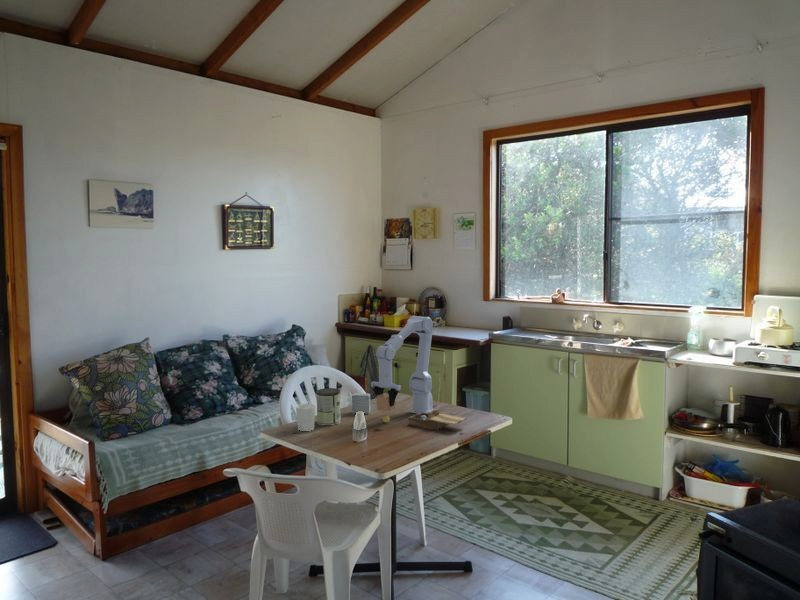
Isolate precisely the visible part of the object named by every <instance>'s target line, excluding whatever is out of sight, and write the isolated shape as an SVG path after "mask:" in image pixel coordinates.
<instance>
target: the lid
mask: <svg viewBox="0 0 800 600" xmlns="http://www.w3.org/2000/svg"><path fill="white" fill-rule="evenodd" d="M425 420H429V421H435V422H440V423H446V424H449V425H452V426H455V425H458V424H460V423H462V422H464V421H466V420H467V417H463V416H458V415H452V414H445V413H440V408H434V410H432V411H430V412H428V418H425Z"/></svg>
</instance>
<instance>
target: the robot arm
mask: <svg viewBox="0 0 800 600" xmlns="http://www.w3.org/2000/svg"><path fill="white" fill-rule="evenodd" d="M433 327H434V321H433V320H432V318H431V317H430V316H418V315H411V316H410V317H409V318H408V319H407V322H406V324H405V326H404V327H403V328H402V329H401V330H400V331H399V332H398V334H392V335H391V336H390V338H389V339H388V340H387V341H385V343H384V344H383V345H380V346H378V347H377V348H376V351H375V356H376V358H377V362H378V381H371V382H370V387H371V388H372V391H373V393H374V395H375V397H376V398H377V396H378V395H381V394H384V390H385V389H387V394H389V403H390V406H394V403H395V404H396V399H397V396H398V393H400V391H401V390H402V386H401V385H400V384H396V383H394V382H393V359H394V358H395V356H396V353H397V351H398V350H399V349H400V348H401V347H402V346H403V344H404V340H405V339H407V337H409V336H410V335H411V334H412V333H415V334H417V335H418V337H419V341H418V349H417V358H416V359H417V360H416V365H415V366H416V367H415V371H414V372H413V373H412V374H411V375H410V379H409V382H408V386H409V389H410V391H411V393H412V410H409V412H408V413H411V414H415V415H416V414H418V413H421V412H423V413H428V412H430V411H432V410H435V408H433V394H432V392H431V391H432V389H433V381H432V380H433V377H432V376H431V375H430V373H429V365H430V364H429V363H430V353H431V347H432V346H431V345H432V337H433Z"/></svg>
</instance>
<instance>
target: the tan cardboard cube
mask: <svg viewBox="0 0 800 600" xmlns="http://www.w3.org/2000/svg"><path fill="white" fill-rule="evenodd" d="M395 409H396V402H395V403H394V406H390V403H389V394H388V392H387V393H385V392H383V394H381V395H378V396H377V397H376V410H378V411H383V412H390V411H393V410H395Z"/></svg>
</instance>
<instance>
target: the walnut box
mask: <svg viewBox="0 0 800 600" xmlns="http://www.w3.org/2000/svg"><path fill="white" fill-rule="evenodd" d="M422 415H425V416H426V417H427V418H428V413H423V412H421V413H418V414H416V413H415V414H414V415H411V416H408V425H409V426H414V427H419V428H424V429H429V430H433V429H435V430H434V431H438V430H440V429H442V428H445V427H446V425H447V426H449V425H448V424H446V423H440V422H435V421H429V420H423V419H420V417H421V416H422ZM439 428H440V429H439ZM437 429H438V430H437Z"/></svg>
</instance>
